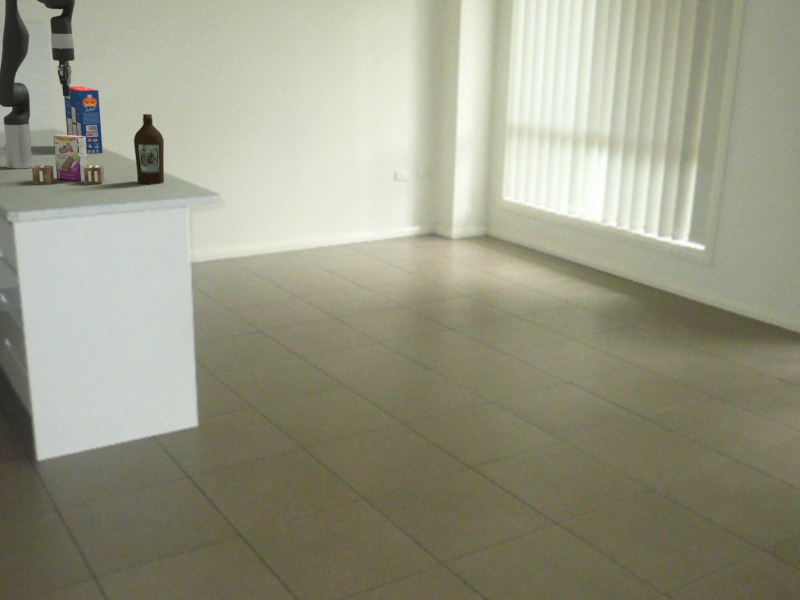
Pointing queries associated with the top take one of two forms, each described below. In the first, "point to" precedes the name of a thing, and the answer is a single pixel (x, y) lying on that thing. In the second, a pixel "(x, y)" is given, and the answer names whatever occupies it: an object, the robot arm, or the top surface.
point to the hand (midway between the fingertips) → (66, 96)
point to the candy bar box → (70, 157)
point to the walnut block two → (94, 174)
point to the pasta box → (84, 117)
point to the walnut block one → (42, 174)
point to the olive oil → (149, 153)
